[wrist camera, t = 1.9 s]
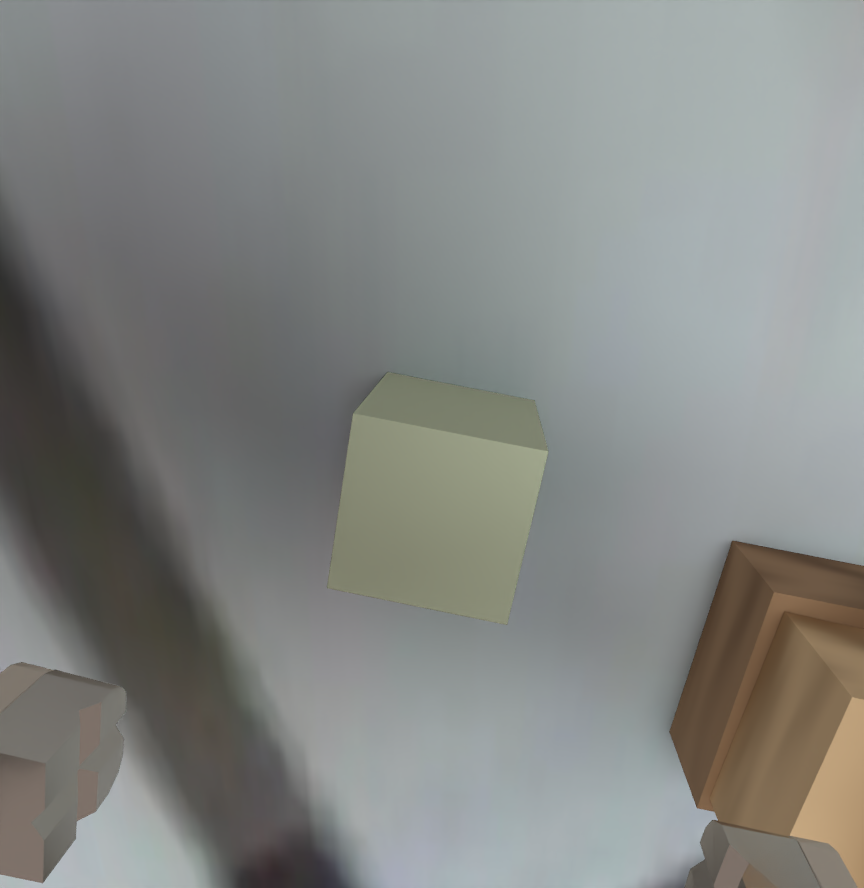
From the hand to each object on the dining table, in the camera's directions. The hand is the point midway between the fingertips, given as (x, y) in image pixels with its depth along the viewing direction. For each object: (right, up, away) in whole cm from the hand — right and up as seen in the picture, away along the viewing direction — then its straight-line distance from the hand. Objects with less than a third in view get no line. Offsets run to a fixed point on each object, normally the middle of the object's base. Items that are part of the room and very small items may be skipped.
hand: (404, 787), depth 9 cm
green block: (+1, +4, +14) cm, 15 cm away
